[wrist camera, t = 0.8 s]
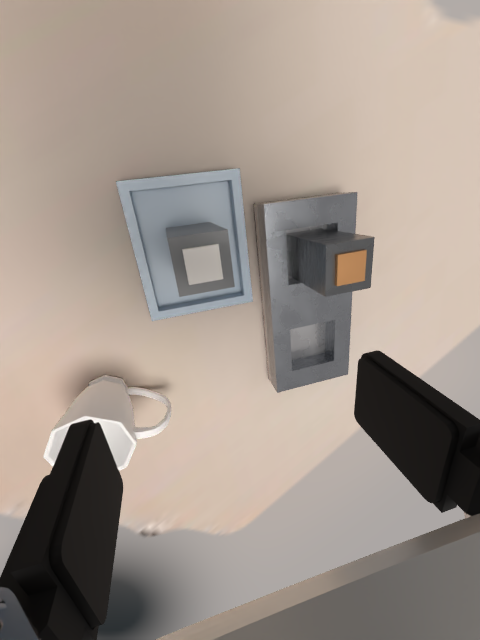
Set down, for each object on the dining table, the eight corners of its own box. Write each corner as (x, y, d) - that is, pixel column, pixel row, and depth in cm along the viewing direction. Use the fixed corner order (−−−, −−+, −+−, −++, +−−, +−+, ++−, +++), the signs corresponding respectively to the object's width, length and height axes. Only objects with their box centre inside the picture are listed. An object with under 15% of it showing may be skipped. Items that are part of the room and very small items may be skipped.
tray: (118, 182, 24) (115, 181, 22) (234, 170, 26) (239, 168, 24) (152, 314, 29) (151, 321, 27) (247, 296, 31) (252, 301, 29)
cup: (65, 366, 29) (33, 422, 21) (168, 358, 31) (170, 406, 24) (77, 422, 31) (51, 489, 24) (171, 411, 34) (174, 468, 26)
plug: (165, 228, 26) (167, 238, 18) (209, 221, 26) (228, 230, 19) (174, 271, 27) (179, 298, 20) (216, 264, 28) (235, 288, 20)
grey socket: (253, 204, 27) (294, 205, 19) (339, 192, 29) (411, 189, 21) (268, 378, 35) (301, 432, 27) (334, 361, 37) (384, 408, 29)
